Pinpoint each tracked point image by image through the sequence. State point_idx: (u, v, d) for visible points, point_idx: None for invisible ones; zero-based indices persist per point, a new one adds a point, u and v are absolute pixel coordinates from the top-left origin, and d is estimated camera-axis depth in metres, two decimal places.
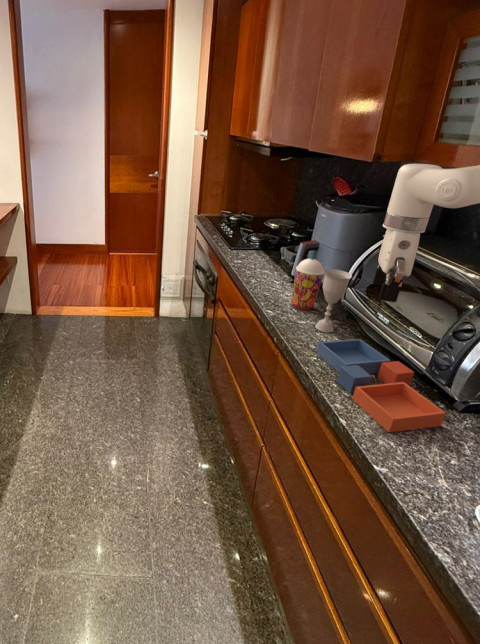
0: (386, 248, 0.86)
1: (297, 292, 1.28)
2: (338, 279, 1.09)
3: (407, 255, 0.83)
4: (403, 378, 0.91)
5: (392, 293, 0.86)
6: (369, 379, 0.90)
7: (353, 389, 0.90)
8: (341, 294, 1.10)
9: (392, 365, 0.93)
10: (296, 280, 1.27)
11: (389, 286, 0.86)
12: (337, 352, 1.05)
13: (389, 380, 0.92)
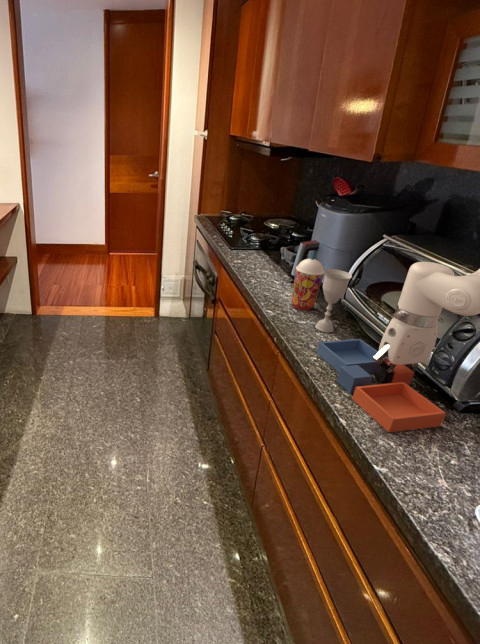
0: None
1: (297, 292, 1.28)
2: (338, 279, 1.09)
3: (392, 343, 0.88)
4: (403, 378, 0.91)
5: (383, 376, 0.93)
6: (369, 379, 0.90)
7: (353, 389, 0.90)
8: (341, 294, 1.10)
9: None
10: (296, 280, 1.27)
11: (381, 368, 0.93)
12: (337, 352, 1.05)
13: None
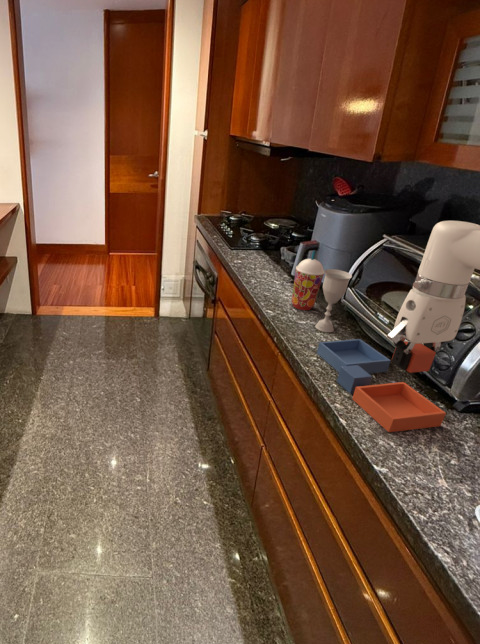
0: None
1: (297, 292, 1.28)
2: (338, 279, 1.09)
3: (411, 317, 0.75)
4: (423, 360, 0.78)
5: (399, 357, 0.79)
6: (369, 379, 0.90)
7: (353, 389, 0.90)
8: (341, 294, 1.10)
9: None
10: (296, 280, 1.27)
11: (397, 349, 0.80)
12: (337, 352, 1.05)
13: None
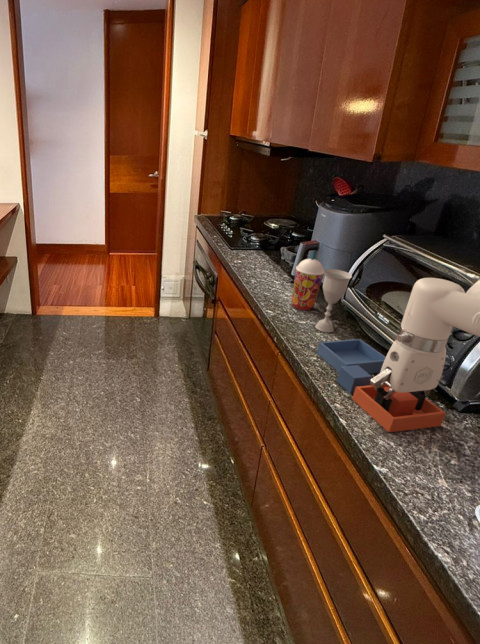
0: None
1: (297, 292, 1.28)
2: (338, 279, 1.09)
3: (394, 368, 0.78)
4: (406, 406, 0.82)
5: (379, 402, 0.83)
6: (369, 379, 0.90)
7: (353, 389, 0.90)
8: (341, 294, 1.10)
9: None
10: (296, 280, 1.27)
11: (378, 394, 0.83)
12: (337, 352, 1.05)
13: (390, 407, 0.83)
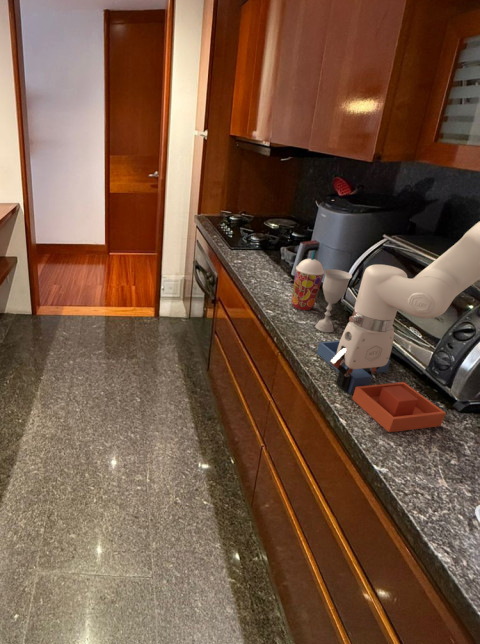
0: None
1: (297, 292, 1.28)
2: (338, 279, 1.09)
3: (348, 346, 0.87)
4: (406, 406, 0.82)
5: (341, 380, 0.91)
6: (369, 379, 0.90)
7: (353, 389, 0.90)
8: (341, 294, 1.10)
9: (393, 391, 0.84)
10: (296, 280, 1.27)
11: (340, 372, 0.91)
12: None
13: (390, 407, 0.83)
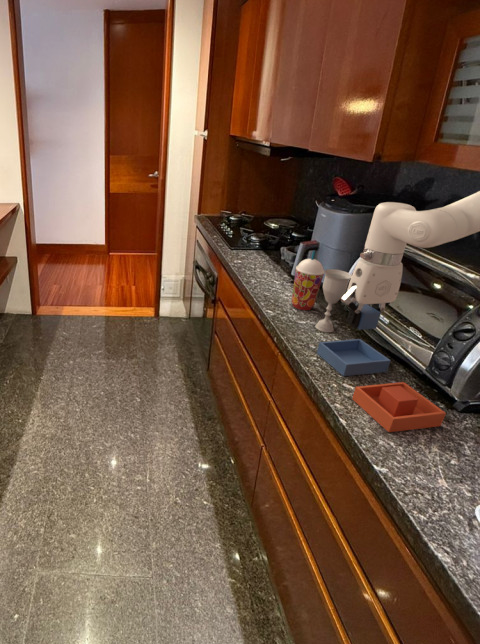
0: None
1: (297, 292, 1.28)
2: (338, 279, 1.09)
3: (359, 282, 0.91)
4: (406, 406, 0.82)
5: (351, 317, 0.96)
6: (378, 315, 0.94)
7: (363, 325, 0.95)
8: (341, 294, 1.10)
9: (393, 391, 0.84)
10: (296, 280, 1.27)
11: (350, 310, 0.96)
12: (337, 352, 1.05)
13: (390, 407, 0.83)
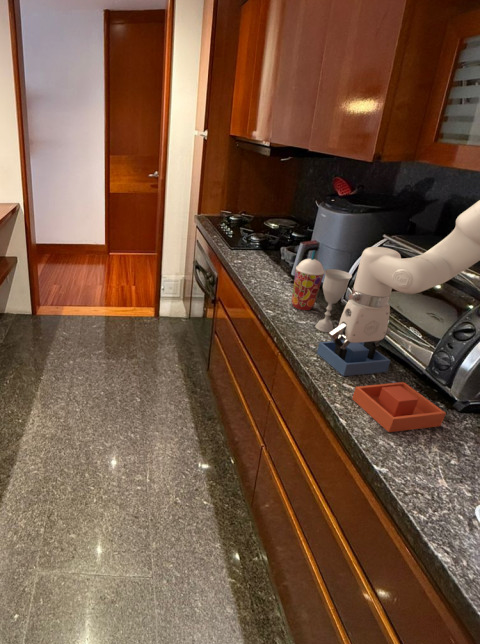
0: None
1: (297, 292, 1.28)
2: (338, 279, 1.09)
3: (348, 322, 0.95)
4: (406, 406, 0.82)
5: (337, 353, 0.99)
6: (366, 352, 0.99)
7: (352, 362, 0.99)
8: (341, 294, 1.10)
9: (393, 391, 0.84)
10: (296, 280, 1.27)
11: (336, 346, 1.00)
12: None
13: (390, 407, 0.83)
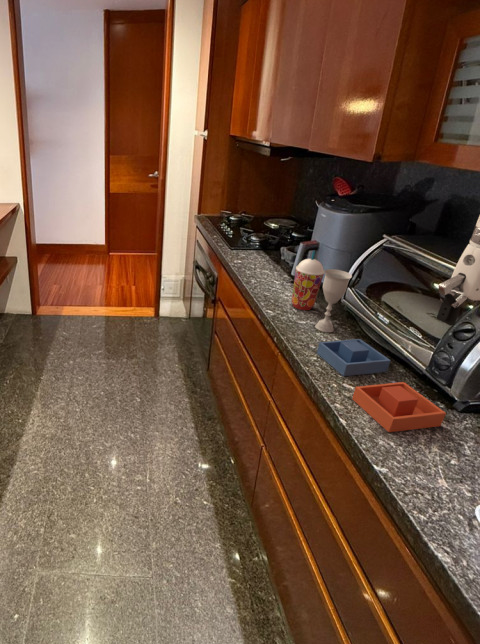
0: None
1: (297, 292, 1.28)
2: (338, 279, 1.09)
3: (469, 272, 0.72)
4: (406, 406, 0.82)
5: (445, 313, 0.76)
6: (366, 352, 0.99)
7: (352, 362, 0.99)
8: (341, 294, 1.10)
9: (393, 391, 0.84)
10: (296, 280, 1.27)
11: (444, 304, 0.76)
12: (337, 352, 1.05)
13: (390, 407, 0.83)
